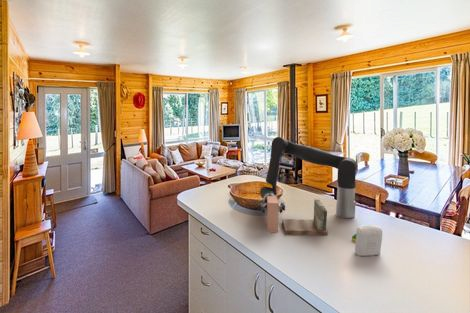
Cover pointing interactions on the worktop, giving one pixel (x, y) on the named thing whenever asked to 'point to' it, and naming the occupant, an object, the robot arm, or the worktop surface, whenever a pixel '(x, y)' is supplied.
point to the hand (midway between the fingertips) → (272, 211)
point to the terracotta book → (272, 213)
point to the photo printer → (368, 240)
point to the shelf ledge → (308, 222)
